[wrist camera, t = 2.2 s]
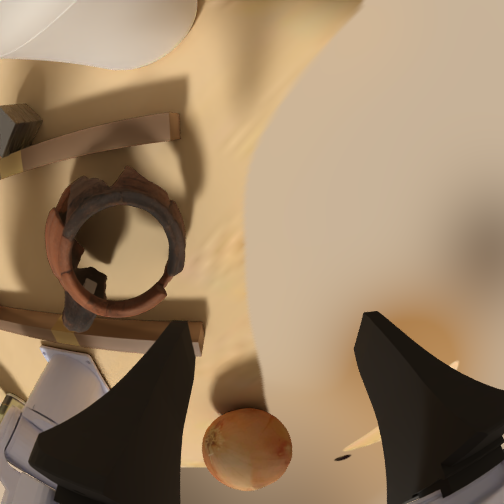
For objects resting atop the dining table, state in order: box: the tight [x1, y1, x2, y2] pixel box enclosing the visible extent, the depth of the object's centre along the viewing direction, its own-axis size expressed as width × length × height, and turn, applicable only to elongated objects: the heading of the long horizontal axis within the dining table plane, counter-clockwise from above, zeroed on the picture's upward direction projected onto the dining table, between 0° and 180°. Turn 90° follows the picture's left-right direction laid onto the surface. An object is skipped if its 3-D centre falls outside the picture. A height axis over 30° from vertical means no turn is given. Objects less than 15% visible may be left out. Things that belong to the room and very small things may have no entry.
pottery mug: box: [45, 166, 186, 333], centre depth 16 cm, size 12×10×8 cm
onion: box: [202, 408, 292, 491], centre depth 24 cm, size 10×10×10 cm
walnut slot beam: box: [0, 112, 205, 357], centre depth 17 cm, size 17×28×2 cm, turn 91°
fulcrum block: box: [0, 104, 42, 158], centre depth 13 cm, size 3×3×3 cm
